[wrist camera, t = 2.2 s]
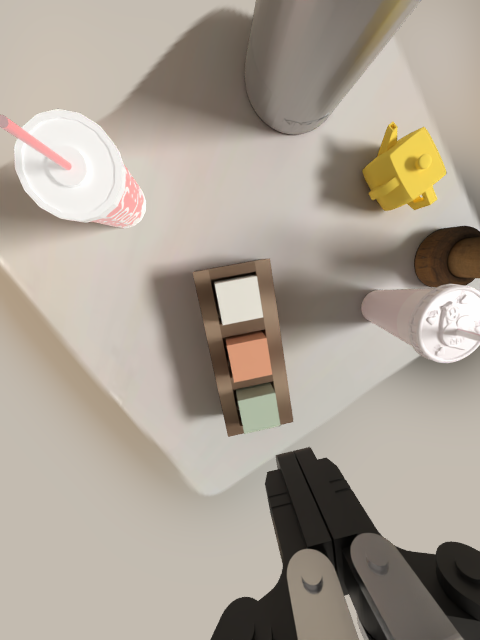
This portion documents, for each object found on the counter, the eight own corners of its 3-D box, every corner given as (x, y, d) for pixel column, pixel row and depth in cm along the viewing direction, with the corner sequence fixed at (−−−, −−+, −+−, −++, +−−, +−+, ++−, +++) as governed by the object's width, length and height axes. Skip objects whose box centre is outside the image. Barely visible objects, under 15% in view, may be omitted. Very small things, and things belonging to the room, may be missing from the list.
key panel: (195, 271, 26) (192, 272, 22) (261, 259, 26) (269, 258, 23) (226, 414, 30) (228, 436, 26) (282, 401, 30) (293, 421, 27)
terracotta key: (225, 336, 25) (226, 345, 22) (260, 329, 25) (266, 337, 22) (231, 369, 26) (234, 382, 23) (265, 362, 26) (272, 374, 23)
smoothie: (363, 342, 30) (490, 407, 16) (341, 297, 28) (460, 327, 15) (409, 314, 30) (576, 356, 16) (389, 267, 28) (555, 269, 15)
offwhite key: (214, 281, 24) (214, 283, 21) (251, 274, 24) (256, 276, 21) (221, 318, 25) (222, 325, 22) (257, 310, 25) (263, 317, 22)
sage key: (234, 385, 26) (237, 401, 23) (268, 378, 27) (275, 392, 24) (240, 415, 27) (244, 434, 24) (273, 408, 27) (280, 425, 24)
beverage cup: (110, 247, 25) (-13, 226, 11) (73, 185, 23) (-124, 73, 10) (166, 218, 25) (111, 162, 11) (132, 155, 23) (19, 0, 10)
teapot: (336, 166, 25) (367, 142, 20) (382, 128, 25) (425, 95, 20) (375, 232, 27) (412, 225, 22) (418, 198, 27) (465, 183, 22)
